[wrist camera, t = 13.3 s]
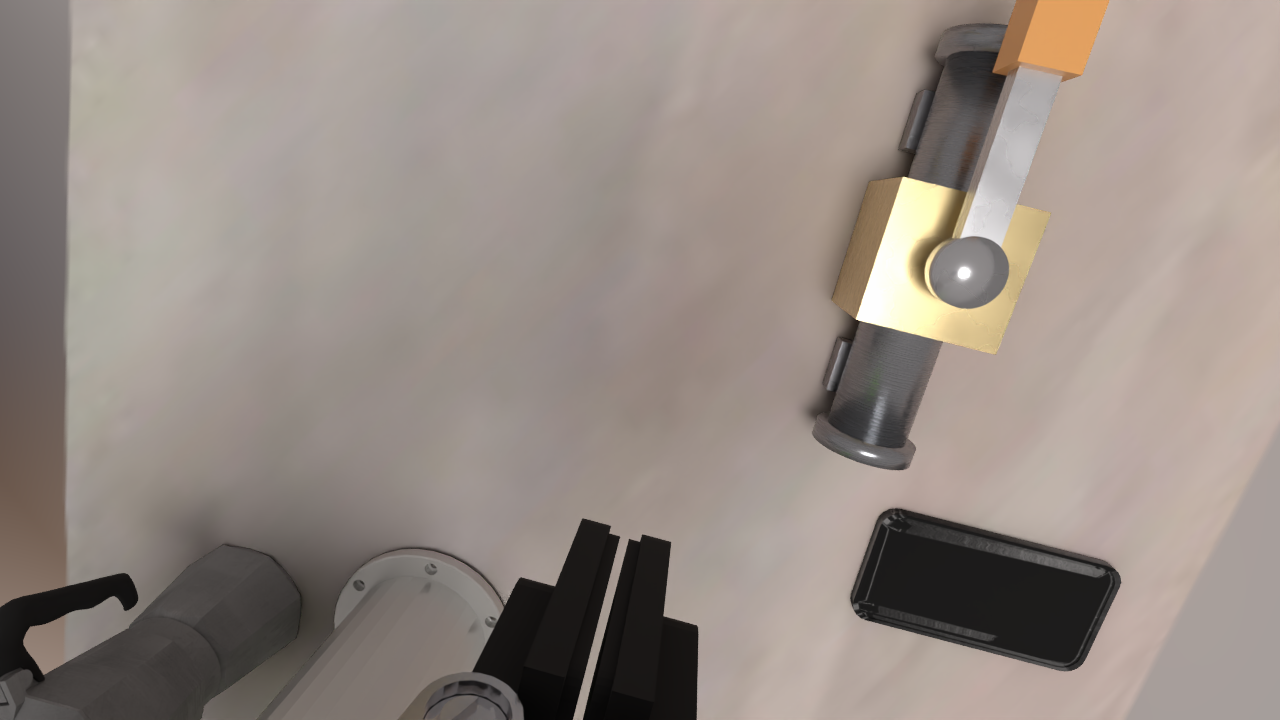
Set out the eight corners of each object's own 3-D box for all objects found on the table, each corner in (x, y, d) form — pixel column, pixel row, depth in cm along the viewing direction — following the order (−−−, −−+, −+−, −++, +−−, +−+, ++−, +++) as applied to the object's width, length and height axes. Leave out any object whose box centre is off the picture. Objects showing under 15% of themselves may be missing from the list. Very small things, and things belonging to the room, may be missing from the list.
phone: (886, 509, 41) (1127, 571, 40) (881, 501, 42) (1116, 561, 41) (847, 617, 43) (1077, 677, 42) (844, 606, 44) (1068, 665, 43)
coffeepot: (328, 671, 49) (118, 932, 31) (216, 681, 50) (-47, 937, 33) (268, 481, 45) (-5, 653, 28) (149, 497, 47) (-183, 671, 29)
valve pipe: (905, 445, 40) (949, 499, 33) (794, 416, 41) (814, 463, 33) (1042, 71, 35) (1132, 35, 28) (913, 41, 35) (968, -3, 28)
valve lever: (977, 310, 31) (999, 318, 29) (911, 294, 31) (927, 301, 29) (1094, -13, 28) (1129, -33, 25) (1018, -29, 28) (1046, -50, 25)
